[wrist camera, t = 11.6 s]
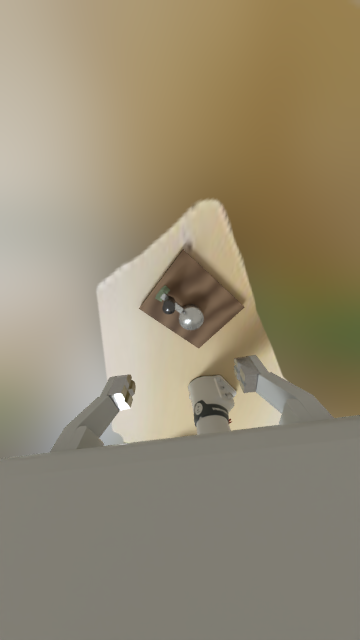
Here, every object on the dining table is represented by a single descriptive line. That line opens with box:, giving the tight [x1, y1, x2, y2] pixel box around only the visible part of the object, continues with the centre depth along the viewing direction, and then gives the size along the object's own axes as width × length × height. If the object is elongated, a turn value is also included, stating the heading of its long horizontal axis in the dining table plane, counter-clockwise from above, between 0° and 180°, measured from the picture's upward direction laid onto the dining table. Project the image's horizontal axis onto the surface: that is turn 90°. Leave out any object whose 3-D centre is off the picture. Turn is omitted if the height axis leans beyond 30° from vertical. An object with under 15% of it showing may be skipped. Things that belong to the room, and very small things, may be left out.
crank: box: [160, 292, 204, 330], centre depth 37 cm, size 14×7×7 cm, turn 49°
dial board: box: [139, 250, 244, 348], centre depth 41 cm, size 24×20×2 cm
